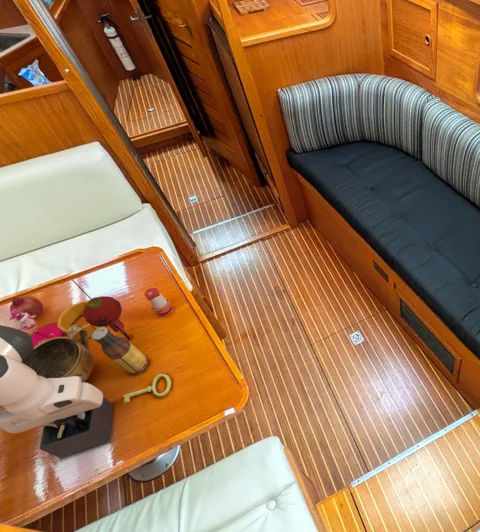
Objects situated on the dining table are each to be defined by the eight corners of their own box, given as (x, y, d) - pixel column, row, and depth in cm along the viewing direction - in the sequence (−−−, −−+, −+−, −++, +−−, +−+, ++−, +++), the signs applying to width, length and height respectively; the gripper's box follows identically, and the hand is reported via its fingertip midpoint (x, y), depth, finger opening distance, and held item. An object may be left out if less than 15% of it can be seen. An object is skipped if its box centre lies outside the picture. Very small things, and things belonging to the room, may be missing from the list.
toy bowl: (64, 345, 127) (54, 337, 123) (70, 314, 134) (61, 306, 131) (106, 333, 130) (98, 325, 126) (110, 304, 137) (102, 295, 134)
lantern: (144, 321, 133) (92, 262, 110) (145, 344, 127) (91, 286, 105) (113, 332, 130) (53, 273, 108) (113, 355, 124) (50, 298, 102)
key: (124, 398, 115) (120, 395, 113) (166, 372, 121) (163, 369, 119) (133, 416, 112) (129, 414, 110) (176, 388, 117) (173, 385, 116)
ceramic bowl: (94, 337, 129) (65, 311, 117) (123, 364, 122) (96, 339, 111) (20, 391, 116) (-21, 367, 105) (48, 424, 110) (8, 403, 99)
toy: (171, 301, 138) (151, 274, 127) (178, 316, 134) (158, 288, 123) (155, 309, 136) (133, 282, 125) (162, 324, 132) (140, 297, 121)
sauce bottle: (148, 354, 125) (114, 318, 110) (149, 370, 121) (115, 336, 106) (125, 362, 123) (88, 328, 108) (126, 379, 119) (87, 345, 104)
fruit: (51, 318, 134) (30, 300, 126) (22, 330, 130) (0, 313, 123) (47, 302, 138) (27, 284, 130) (20, 314, 134) (-2, 296, 127)
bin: (61, 458, 104) (39, 448, 98) (67, 418, 111) (47, 406, 105) (109, 442, 107) (91, 431, 101) (112, 403, 114) (95, 391, 108)
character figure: (90, 409, 111) (62, 391, 102) (102, 413, 110) (75, 395, 101) (63, 441, 105) (31, 425, 96) (75, 446, 104) (44, 430, 95)
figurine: (38, 356, 124) (3, 330, 113) (23, 341, 127) (-13, 315, 116) (69, 333, 130) (38, 307, 118) (54, 320, 133) (22, 293, 122)
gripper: (-21, 428, 89) (23, 447, 99) (82, 396, 94) (113, 417, 104) (-13, 402, 93) (28, 423, 103) (85, 373, 98) (115, 396, 108)
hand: (71, 420), depth 104 cm, fingers closed on character figure, 3 cm apart
